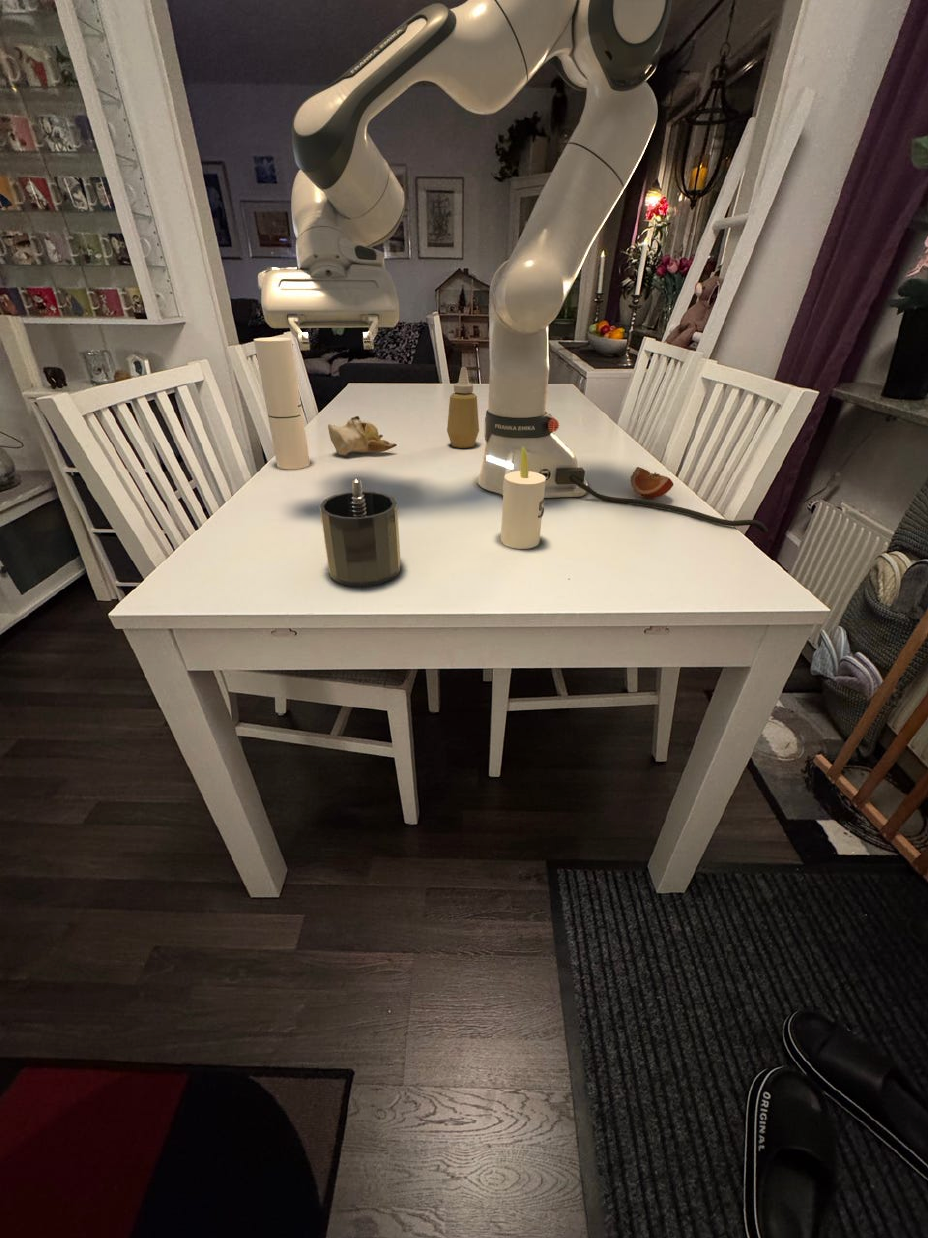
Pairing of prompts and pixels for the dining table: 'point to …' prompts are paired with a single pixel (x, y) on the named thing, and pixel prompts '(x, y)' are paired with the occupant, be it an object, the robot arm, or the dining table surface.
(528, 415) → the robot arm
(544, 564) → the dining table surface
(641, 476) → the fruit slice
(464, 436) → the squeeze bottle
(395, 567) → the holder
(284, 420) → the cylindrical container
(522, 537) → the candle
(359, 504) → the screw
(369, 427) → the ceramic sculpture
